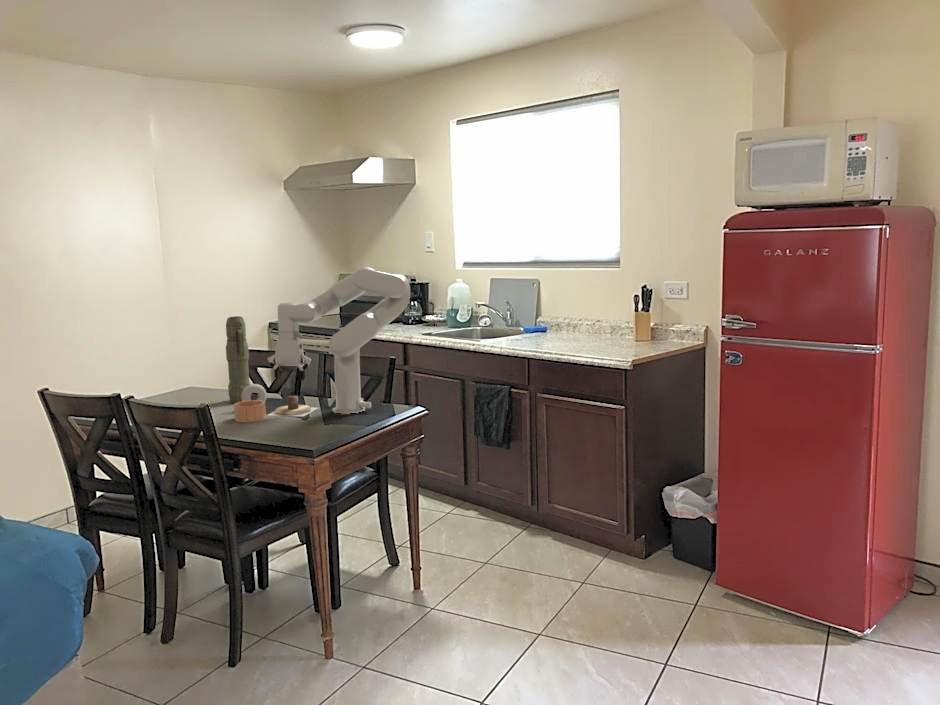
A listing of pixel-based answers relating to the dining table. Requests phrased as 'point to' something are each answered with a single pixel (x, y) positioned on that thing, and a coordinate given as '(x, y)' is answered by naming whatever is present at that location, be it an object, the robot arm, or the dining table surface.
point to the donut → (254, 388)
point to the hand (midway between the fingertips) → (289, 380)
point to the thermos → (237, 357)
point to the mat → (292, 415)
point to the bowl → (250, 411)
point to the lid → (293, 407)
